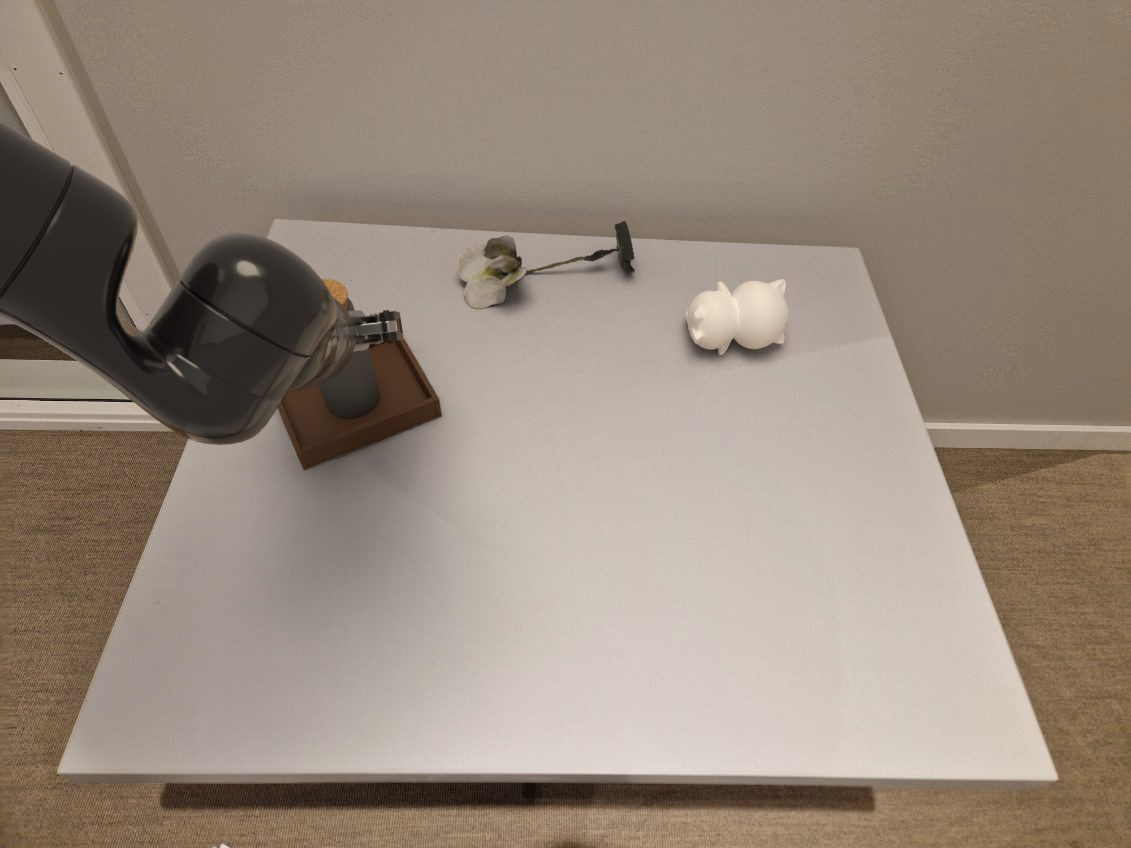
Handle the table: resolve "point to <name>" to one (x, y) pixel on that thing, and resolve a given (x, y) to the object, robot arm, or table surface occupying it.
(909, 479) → the table surface
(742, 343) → the cat figurine
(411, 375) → the tray
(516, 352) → the table surface
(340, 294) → the bottle
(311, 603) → the table surface
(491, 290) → the artificial flower
